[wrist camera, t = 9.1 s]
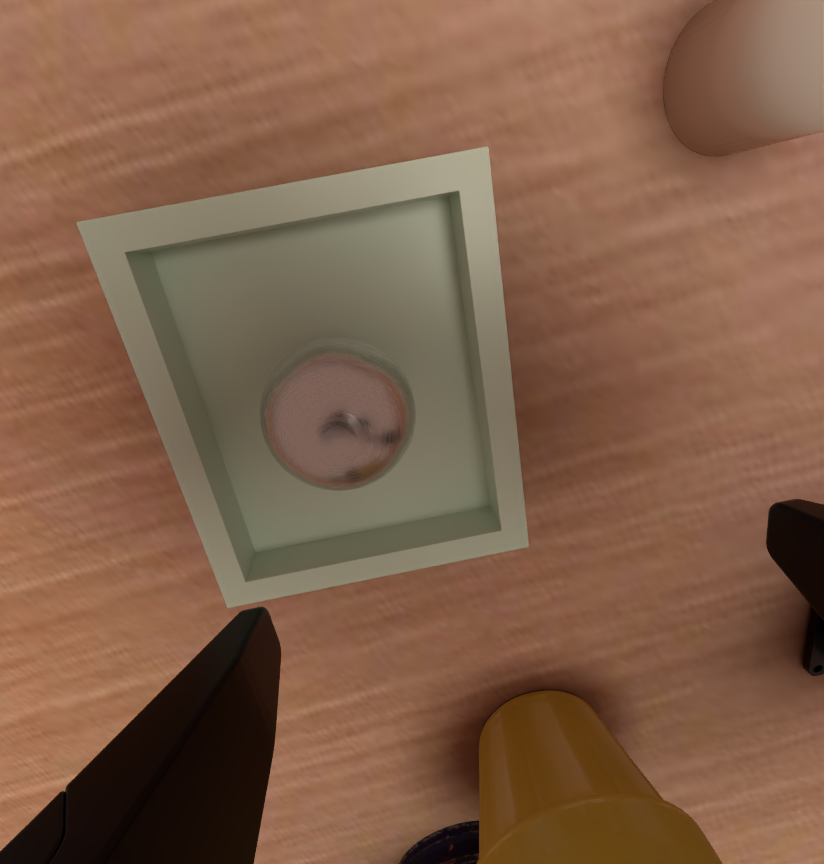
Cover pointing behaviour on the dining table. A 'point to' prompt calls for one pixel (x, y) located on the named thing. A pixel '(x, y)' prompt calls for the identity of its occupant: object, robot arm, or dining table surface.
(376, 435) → the ball
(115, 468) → the dining table surface
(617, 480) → the dining table surface
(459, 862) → the storage jar
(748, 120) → the shaker
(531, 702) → the plant pot
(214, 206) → the tray
